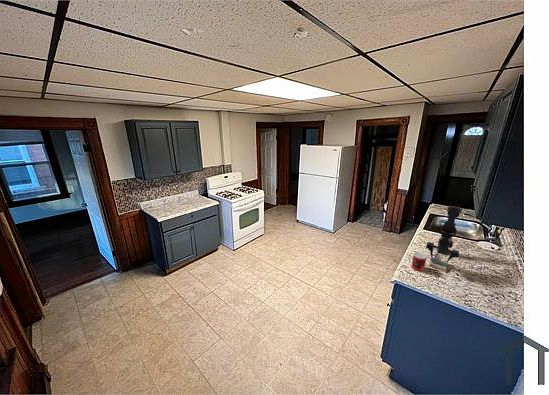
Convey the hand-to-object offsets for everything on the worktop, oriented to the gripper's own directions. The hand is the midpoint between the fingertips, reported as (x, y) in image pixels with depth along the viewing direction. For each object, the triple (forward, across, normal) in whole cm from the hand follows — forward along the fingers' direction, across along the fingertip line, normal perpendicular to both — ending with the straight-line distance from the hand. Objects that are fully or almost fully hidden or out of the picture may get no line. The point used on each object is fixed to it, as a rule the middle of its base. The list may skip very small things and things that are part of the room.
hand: (439, 259), depth 160 cm
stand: (+6, +1, 0) cm, 6 cm away
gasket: (+6, +19, -4) cm, 20 cm away
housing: (+1, -1, 0) cm, 2 cm away
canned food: (+6, -10, -13) cm, 18 cm away
